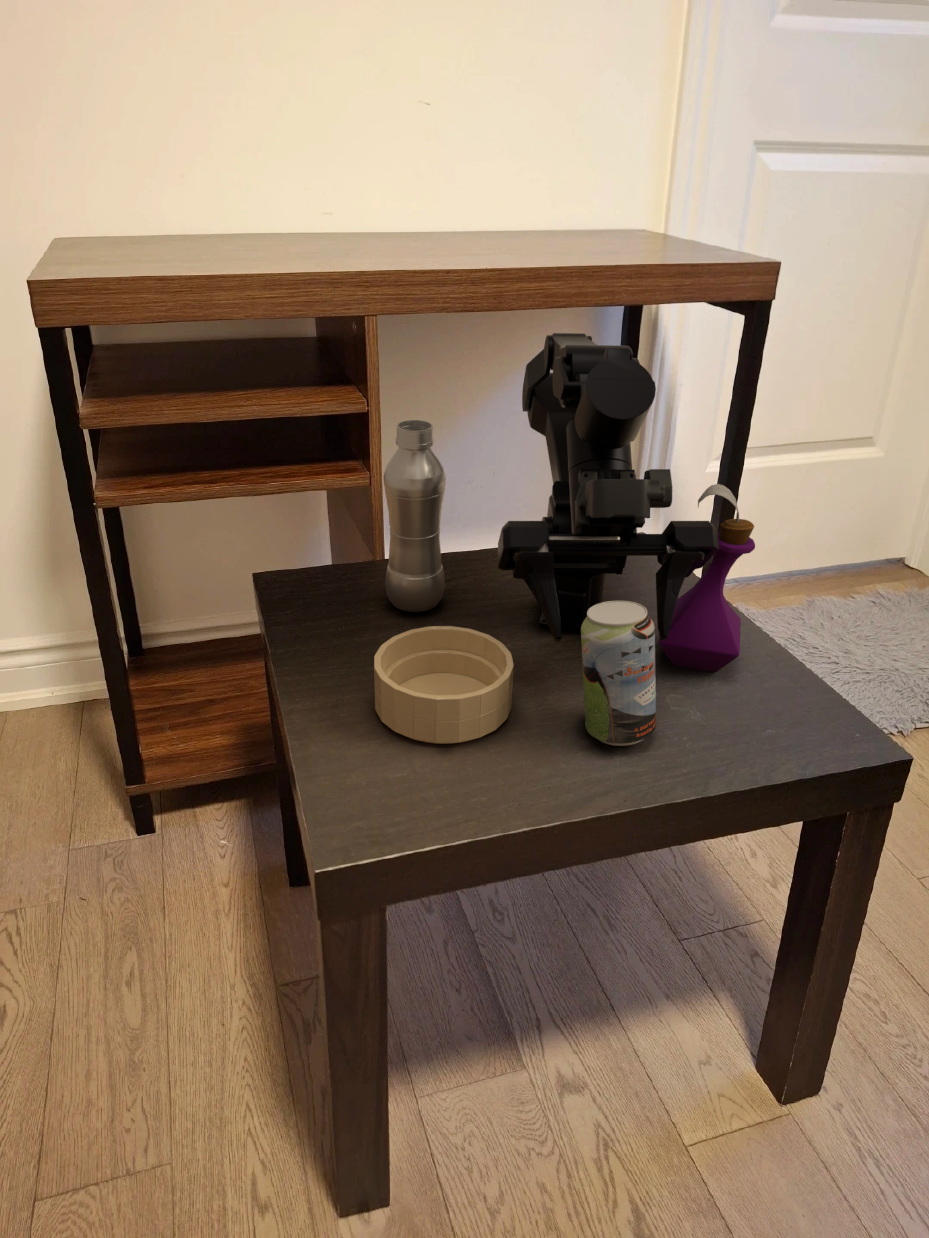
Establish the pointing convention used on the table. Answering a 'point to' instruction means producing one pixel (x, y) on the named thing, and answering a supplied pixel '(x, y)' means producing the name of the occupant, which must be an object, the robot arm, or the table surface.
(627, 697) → the beverage can
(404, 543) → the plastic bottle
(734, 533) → the purple corked potion flask
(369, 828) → the table surface
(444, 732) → the bowl
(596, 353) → the robot arm
